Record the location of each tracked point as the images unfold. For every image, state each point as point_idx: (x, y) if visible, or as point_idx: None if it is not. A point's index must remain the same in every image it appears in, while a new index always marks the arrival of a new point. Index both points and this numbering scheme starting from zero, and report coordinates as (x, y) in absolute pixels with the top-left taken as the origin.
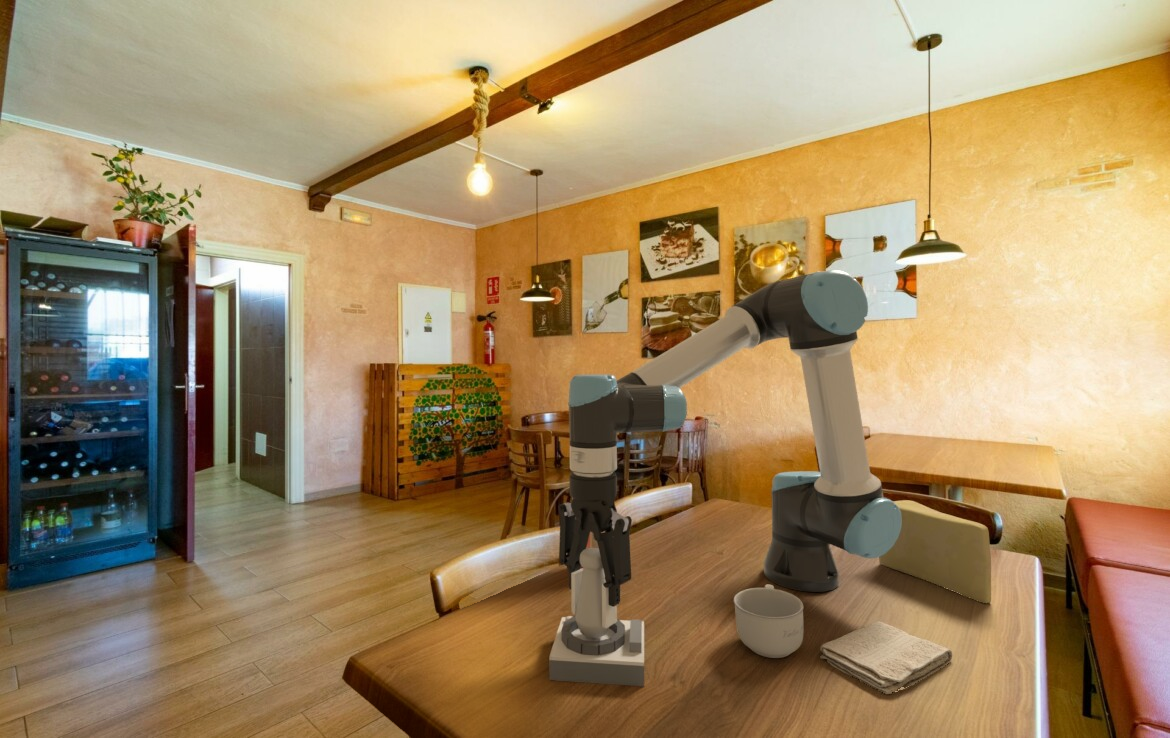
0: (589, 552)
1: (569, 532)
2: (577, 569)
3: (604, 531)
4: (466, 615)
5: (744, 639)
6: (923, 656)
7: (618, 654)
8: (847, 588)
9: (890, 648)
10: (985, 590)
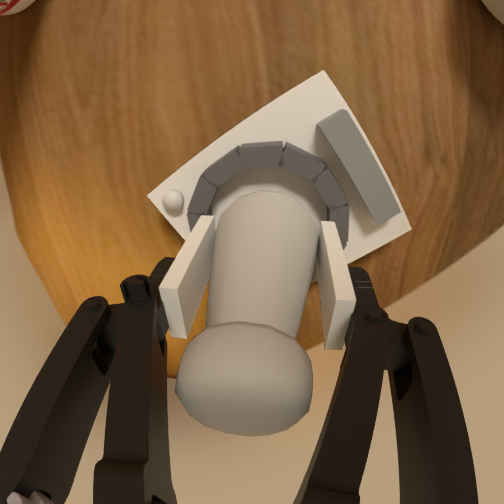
0: (243, 432)
1: (71, 432)
2: (164, 315)
3: None
4: (31, 242)
5: (502, 20)
6: None
7: (355, 236)
8: None
9: None
10: None
